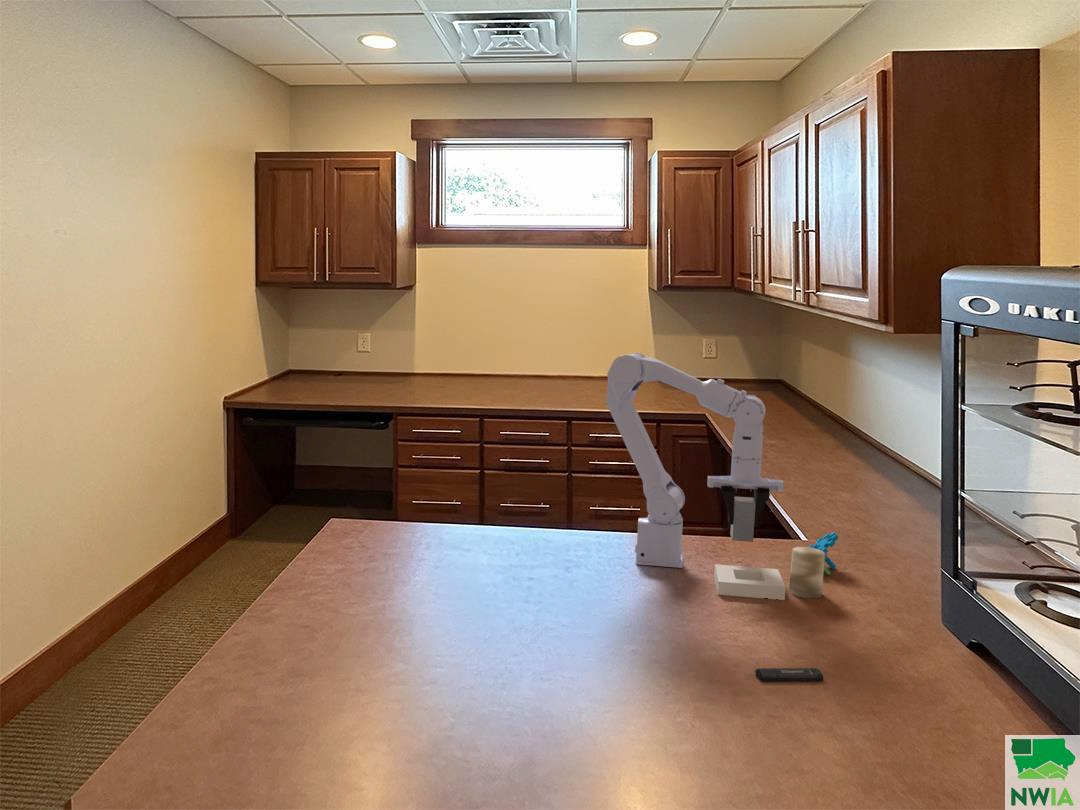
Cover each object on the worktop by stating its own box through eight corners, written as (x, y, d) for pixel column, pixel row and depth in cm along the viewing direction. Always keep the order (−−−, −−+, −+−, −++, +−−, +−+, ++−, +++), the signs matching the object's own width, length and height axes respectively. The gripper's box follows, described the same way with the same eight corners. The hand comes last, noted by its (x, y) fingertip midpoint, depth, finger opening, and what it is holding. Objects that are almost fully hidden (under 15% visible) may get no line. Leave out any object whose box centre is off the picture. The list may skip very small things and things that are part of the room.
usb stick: (759, 684, 111) (760, 674, 111) (753, 675, 114) (754, 665, 114) (824, 684, 112) (825, 674, 112) (816, 676, 115) (817, 666, 114)
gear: (798, 548, 169) (835, 523, 164) (817, 570, 168) (855, 544, 164) (791, 570, 159) (830, 544, 155) (811, 593, 159) (851, 567, 154)
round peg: (791, 597, 145) (794, 555, 144) (787, 586, 151) (789, 545, 150) (824, 599, 144) (827, 557, 143) (818, 588, 150) (821, 548, 149)
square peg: (732, 540, 155) (734, 501, 154) (730, 534, 159) (732, 496, 158) (753, 541, 155) (755, 502, 154) (750, 536, 159) (752, 497, 158)
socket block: (717, 594, 145) (718, 581, 145) (714, 576, 155) (714, 564, 154) (784, 600, 143) (785, 587, 143) (776, 581, 153) (777, 569, 153)
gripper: (710, 459, 152) (706, 527, 154) (788, 463, 150) (783, 532, 152) (708, 452, 159) (704, 517, 161) (782, 456, 157) (777, 522, 159)
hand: (742, 524), depth 157 cm, fingers closed on square peg, 4 cm apart
